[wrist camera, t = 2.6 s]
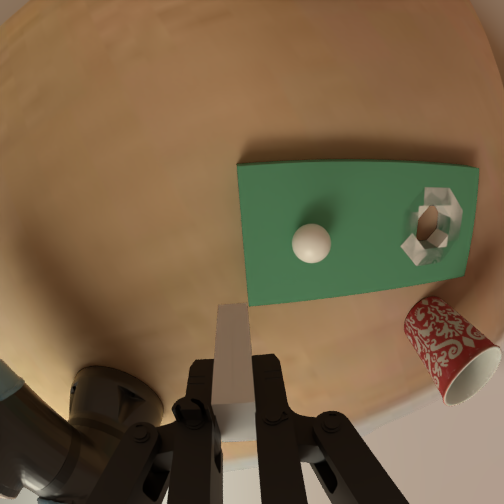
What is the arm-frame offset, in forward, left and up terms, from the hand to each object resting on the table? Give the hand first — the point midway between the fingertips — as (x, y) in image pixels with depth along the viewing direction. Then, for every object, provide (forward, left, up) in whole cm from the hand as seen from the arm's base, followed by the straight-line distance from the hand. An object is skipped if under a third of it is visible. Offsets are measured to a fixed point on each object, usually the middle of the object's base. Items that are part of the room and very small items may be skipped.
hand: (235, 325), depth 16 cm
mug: (+26, -16, -16) cm, 34 cm away
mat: (+15, 0, -15) cm, 21 cm away
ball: (+7, 0, -11) cm, 13 cm away
